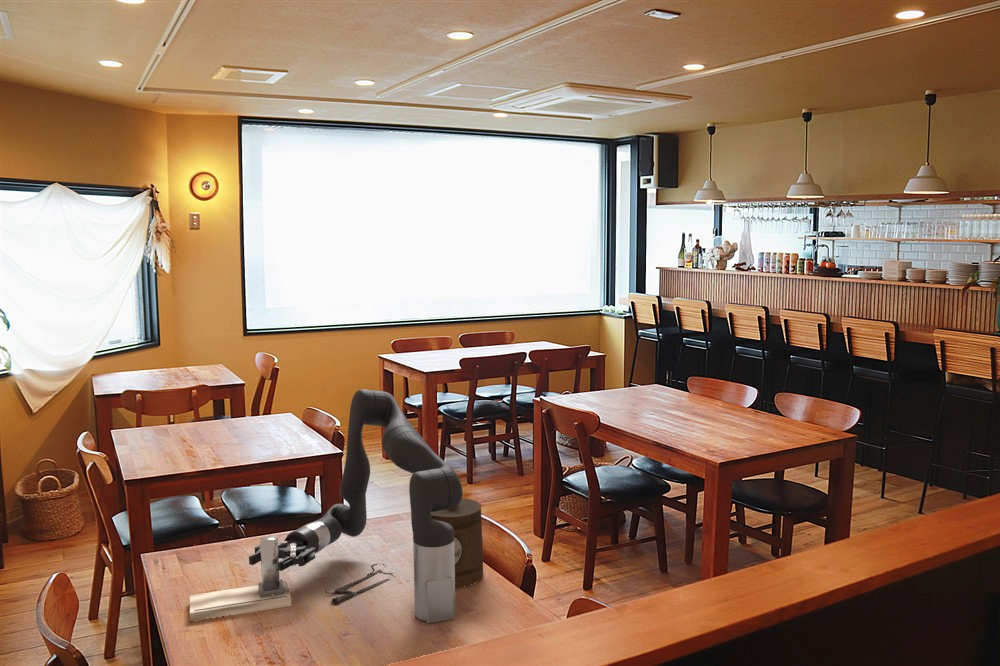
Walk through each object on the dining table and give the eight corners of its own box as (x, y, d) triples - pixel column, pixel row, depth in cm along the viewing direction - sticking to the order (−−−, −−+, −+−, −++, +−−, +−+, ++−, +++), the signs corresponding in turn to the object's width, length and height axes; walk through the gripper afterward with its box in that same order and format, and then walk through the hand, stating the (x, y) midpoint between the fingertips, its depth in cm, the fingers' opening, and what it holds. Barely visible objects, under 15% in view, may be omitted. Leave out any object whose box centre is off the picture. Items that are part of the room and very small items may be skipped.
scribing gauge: (285, 596, 193) (282, 542, 191) (260, 600, 191) (258, 545, 189) (282, 585, 199) (279, 533, 197) (258, 588, 197) (255, 536, 195)
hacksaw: (335, 607, 192) (335, 601, 192) (306, 596, 198) (305, 590, 198) (407, 573, 211) (407, 567, 211) (378, 564, 217) (378, 558, 217)
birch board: (291, 605, 192) (291, 597, 192) (190, 621, 185) (189, 613, 184) (286, 588, 202) (286, 580, 201) (190, 603, 194) (189, 595, 194)
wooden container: (411, 577, 208) (409, 492, 205) (454, 560, 218) (452, 479, 216) (453, 594, 198) (451, 505, 195) (495, 575, 208) (494, 490, 206)
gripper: (284, 522, 210) (239, 543, 195) (331, 529, 204) (288, 553, 189) (285, 550, 211) (241, 574, 196) (332, 559, 205) (289, 584, 190)
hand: (264, 563), depth 193 cm, fingers open, 8 cm apart
